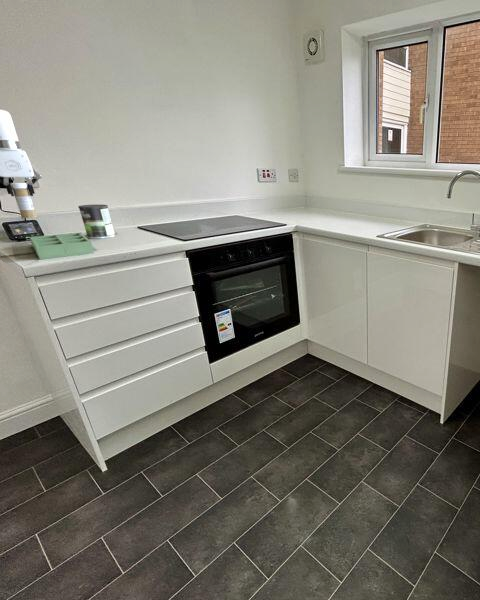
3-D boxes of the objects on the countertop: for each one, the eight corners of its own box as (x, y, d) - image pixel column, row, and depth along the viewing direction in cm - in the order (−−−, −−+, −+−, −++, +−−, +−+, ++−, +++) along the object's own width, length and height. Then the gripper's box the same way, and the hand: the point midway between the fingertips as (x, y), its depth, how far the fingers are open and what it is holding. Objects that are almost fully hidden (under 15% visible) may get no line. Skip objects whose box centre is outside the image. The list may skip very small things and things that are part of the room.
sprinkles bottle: (26, 217, 143) (15, 182, 138) (40, 217, 144) (29, 182, 139) (18, 218, 139) (6, 183, 134) (32, 218, 140) (21, 183, 135)
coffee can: (95, 239, 157) (86, 207, 152) (82, 237, 161) (73, 205, 156) (120, 236, 166) (112, 205, 161) (107, 233, 170) (99, 203, 165)
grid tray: (39, 259, 126) (35, 247, 124) (33, 248, 140) (29, 237, 138) (94, 252, 137) (91, 241, 135) (83, 243, 151) (80, 232, 149)
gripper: (-29, 143, 124) (-10, 197, 130) (38, 147, 136) (52, 196, 142) (-29, 144, 128) (-10, 195, 135) (36, 147, 140) (50, 194, 147)
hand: (22, 195), depth 138 cm, fingers closed on sprinkles bottle, 4 cm apart
